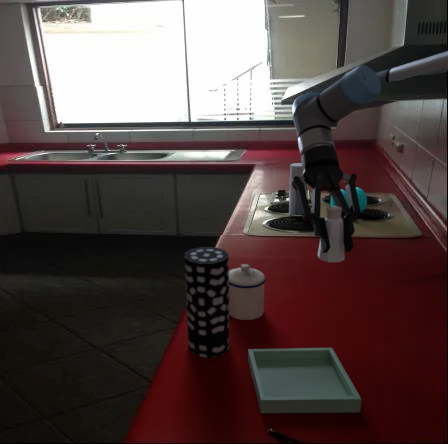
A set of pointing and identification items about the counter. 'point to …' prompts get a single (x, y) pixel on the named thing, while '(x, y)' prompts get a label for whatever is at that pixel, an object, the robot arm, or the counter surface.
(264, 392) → the tray
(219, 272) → the white-spotted black cylinder
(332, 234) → the salt shaker
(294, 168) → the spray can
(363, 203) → the turquoise dumbbell
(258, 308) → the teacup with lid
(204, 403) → the counter surface
